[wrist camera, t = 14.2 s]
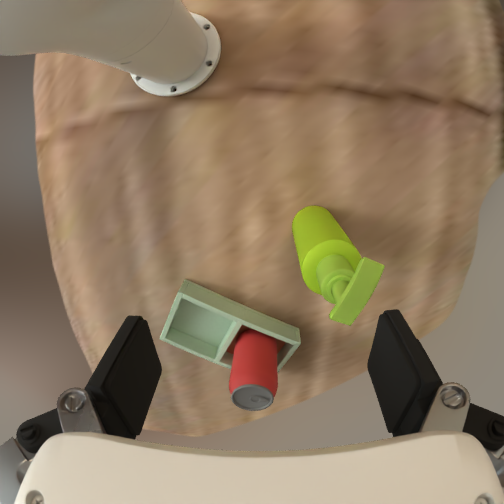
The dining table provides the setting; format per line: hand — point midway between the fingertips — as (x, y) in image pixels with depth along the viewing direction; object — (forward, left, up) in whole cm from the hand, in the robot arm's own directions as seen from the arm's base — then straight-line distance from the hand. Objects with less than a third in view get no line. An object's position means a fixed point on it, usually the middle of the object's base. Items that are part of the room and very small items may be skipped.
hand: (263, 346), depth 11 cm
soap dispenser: (+7, 0, -29) cm, 30 cm away
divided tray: (+4, -21, -29) cm, 36 cm away
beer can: (+9, -21, -28) cm, 36 cm away
